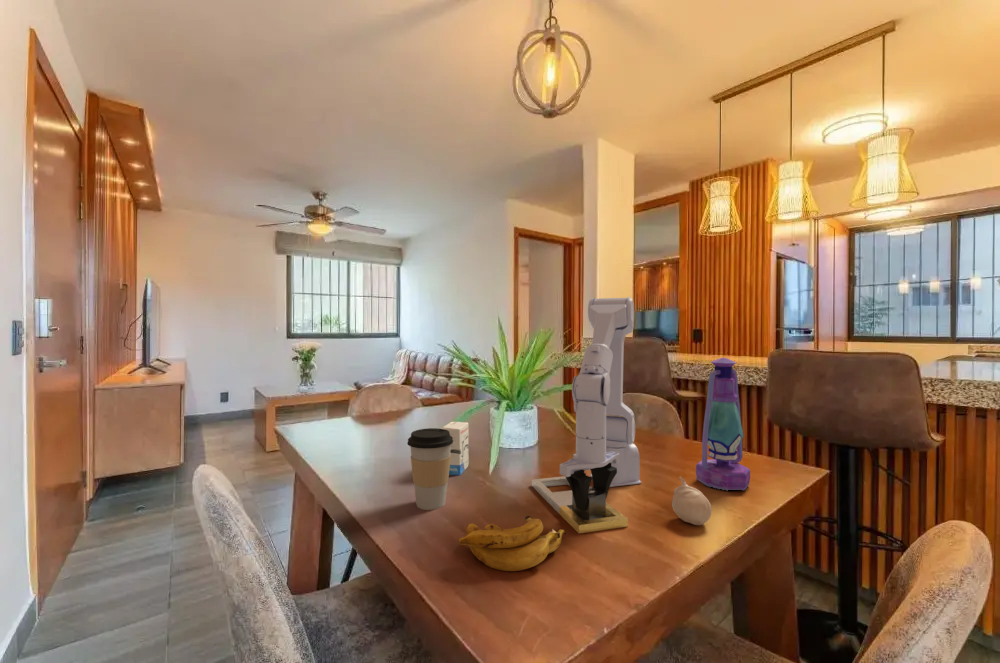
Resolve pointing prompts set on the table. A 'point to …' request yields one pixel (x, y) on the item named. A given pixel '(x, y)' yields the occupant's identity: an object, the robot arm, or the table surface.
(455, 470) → the ink box
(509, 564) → the banana
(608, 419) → the robot arm
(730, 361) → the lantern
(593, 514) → the grey knobbed block
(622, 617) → the table surface
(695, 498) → the garlic bulb
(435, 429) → the coffee cup
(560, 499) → the plate with square hole
